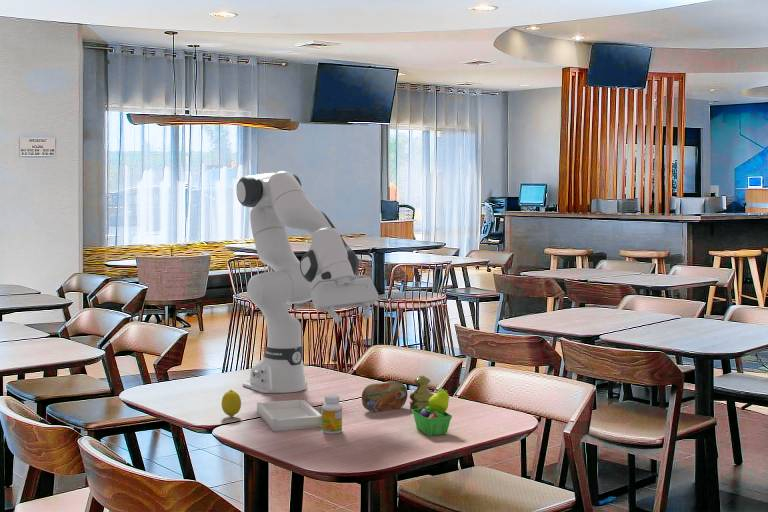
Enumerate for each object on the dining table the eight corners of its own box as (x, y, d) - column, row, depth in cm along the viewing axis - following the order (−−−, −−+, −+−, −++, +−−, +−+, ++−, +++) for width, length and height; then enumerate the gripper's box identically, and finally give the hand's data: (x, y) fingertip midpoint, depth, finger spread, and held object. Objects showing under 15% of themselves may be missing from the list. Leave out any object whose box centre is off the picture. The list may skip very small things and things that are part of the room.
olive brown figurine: (405, 407, 276) (405, 375, 275) (427, 405, 279) (427, 373, 278) (416, 413, 269) (416, 379, 269) (438, 410, 272) (438, 377, 271)
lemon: (233, 413, 269) (233, 386, 268) (245, 417, 265) (244, 389, 264) (217, 417, 265) (217, 389, 264) (229, 420, 261) (228, 392, 260)
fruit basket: (410, 427, 253) (410, 387, 252) (439, 424, 256) (439, 384, 256) (426, 437, 243) (427, 395, 242) (457, 434, 246) (457, 393, 245)
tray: (257, 412, 270) (257, 402, 269) (303, 409, 274) (303, 399, 274) (273, 431, 249) (273, 420, 249) (323, 426, 253) (323, 416, 253)
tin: (365, 414, 268) (365, 385, 268) (359, 412, 271) (359, 384, 270) (408, 407, 276) (408, 380, 276) (402, 405, 279) (402, 378, 278)
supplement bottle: (317, 431, 249) (317, 396, 248) (332, 428, 252) (332, 393, 252) (331, 435, 245) (331, 399, 244) (346, 431, 249) (345, 396, 248)
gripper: (364, 278, 277) (378, 320, 272) (304, 285, 266) (318, 328, 261) (373, 269, 272) (388, 311, 267) (312, 275, 261) (326, 320, 256)
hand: (353, 320), depth 264 cm, fingers open, 8 cm apart
